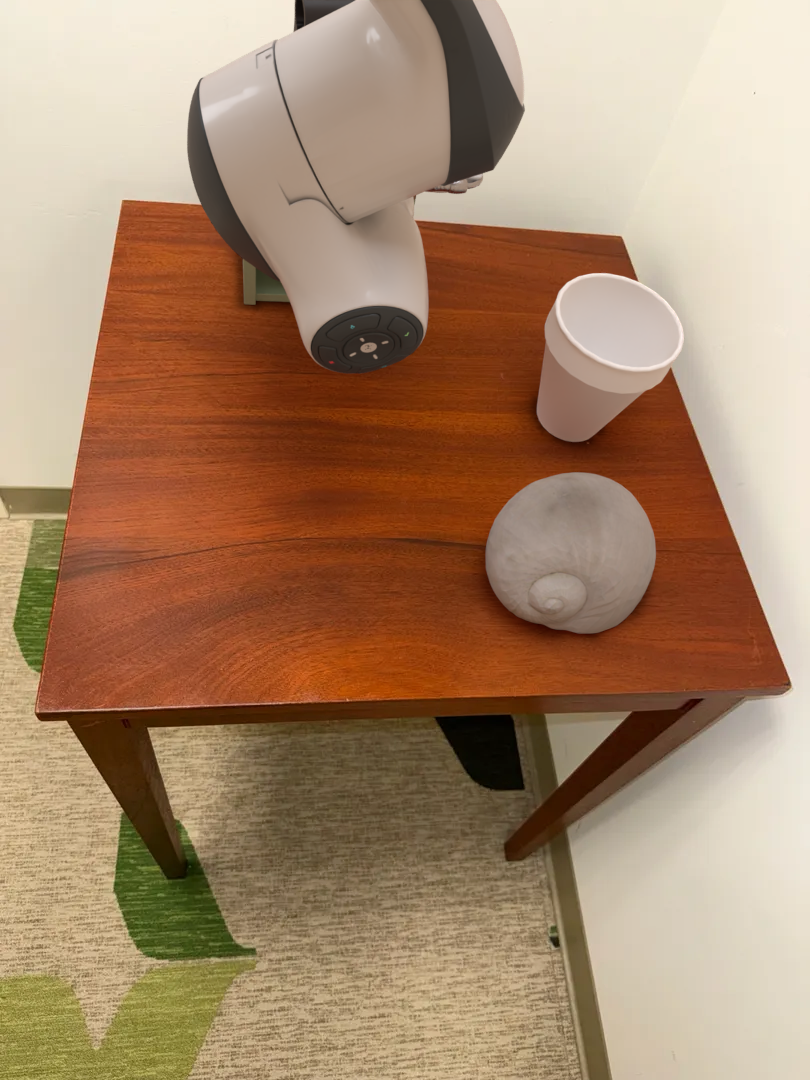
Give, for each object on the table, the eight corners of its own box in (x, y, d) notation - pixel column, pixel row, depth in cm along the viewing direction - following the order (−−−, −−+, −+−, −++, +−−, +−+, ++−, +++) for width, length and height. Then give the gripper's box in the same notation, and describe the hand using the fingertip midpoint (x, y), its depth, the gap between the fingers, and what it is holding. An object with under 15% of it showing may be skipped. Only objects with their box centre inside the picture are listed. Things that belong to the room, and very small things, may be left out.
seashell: (466, 581, 76) (462, 601, 61) (520, 450, 75) (529, 438, 60) (609, 641, 75) (640, 675, 60) (667, 509, 74) (713, 511, 59)
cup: (620, 476, 77) (685, 386, 66) (504, 445, 77) (548, 348, 65) (626, 389, 84) (685, 292, 72) (518, 359, 83) (561, 257, 72)
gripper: (499, 152, 53) (467, 44, 60) (196, 126, 49) (198, 13, 56) (476, 229, 59) (450, 122, 66) (202, 211, 55) (203, 98, 61)
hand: (332, 71), depth 61 cm, fingers closed on phone stand, 6 cm apart
